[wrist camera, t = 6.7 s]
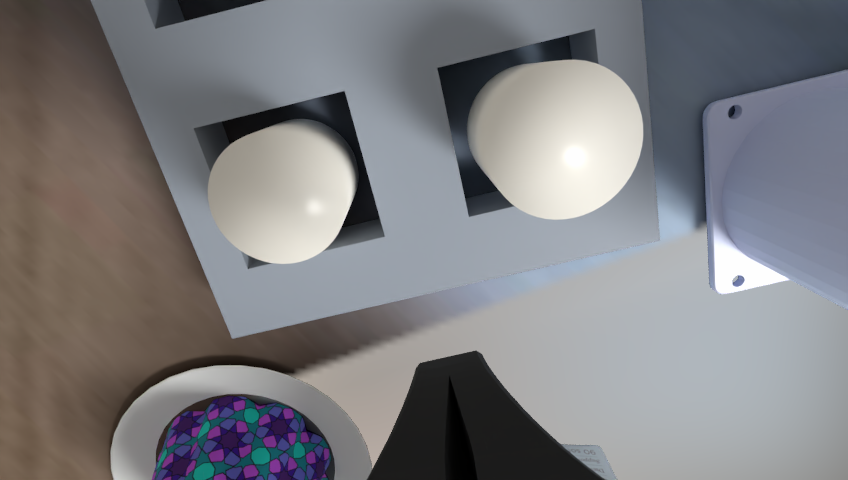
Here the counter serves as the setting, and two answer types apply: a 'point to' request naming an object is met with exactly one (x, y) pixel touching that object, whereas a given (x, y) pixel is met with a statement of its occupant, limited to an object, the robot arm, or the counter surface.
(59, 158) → the counter surface
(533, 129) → the button
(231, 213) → the button
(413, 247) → the board
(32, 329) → the counter surface
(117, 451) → the pudding
